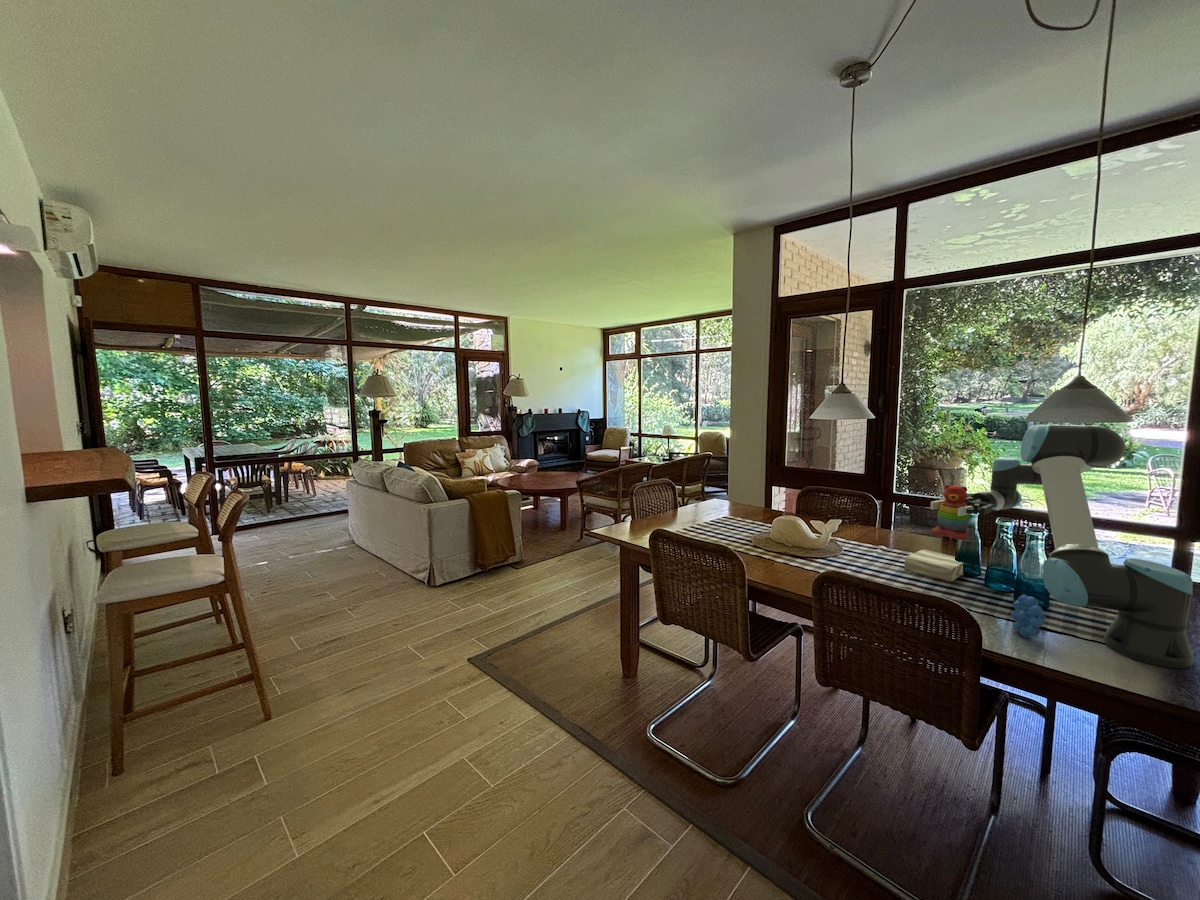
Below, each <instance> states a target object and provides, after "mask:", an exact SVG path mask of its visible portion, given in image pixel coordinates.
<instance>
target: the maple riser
mask: <svg viewBox="0 0 1200 900" xmlns="http://www.w3.org/2000/svg"><path fill="white" fill-rule="evenodd" d="M955 557H956V556H953V555H949V554H945V553H940V552H936V551H932V550H929V549H924V548H923V549H921V550H918V551H916V552H913V553H912V554H910V555H907V556H905V558H904V570H907V571H910V572H914V573H917V574H922V575H924V576H928V577H932V578H936V579H939V580H942V579H943V581H946V580H947V582H949V581H951V582H953V581H955V580H956V579H958V578H960V577H961V576H964V574H963V564H964V563H962V562H958V561H956V560H955Z"/></svg>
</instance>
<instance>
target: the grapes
mask: <svg viewBox="0 0 1200 900" xmlns="http://www.w3.org/2000/svg"><path fill="white" fill-rule="evenodd" d="M1011 605H1012V607H1013V608H1014V609H1015V610H1013V611H1012V612H1011V613H1010V617H1011V618H1012V619H1013V620H1014V621H1015V622H1014V623H1013V627H1014V628H1015V629H1016V630H1017V631H1018V633H1020V635H1021V636H1022V637H1024V638H1030V637H1036V636H1038V635H1039V634H1040V633H1041V630H1040V629H1039V628H1042V627H1043V626H1044V624H1045V620H1046V619H1047V618H1046V616H1045V614H1044V612H1045V611H1044V610H1043V609H1044V608H1042V607H1041V606H1040V605H1039V601H1038V599H1037V598H1036V597H1034V596H1031V595H1030V596H1029V595H1027V594H1022V595H1020V596H1019V597H1018V598H1017V600H1015V601H1014V602H1013V603H1012V604H1011Z"/></svg>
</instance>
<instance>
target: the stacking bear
mask: <svg viewBox="0 0 1200 900" xmlns="http://www.w3.org/2000/svg"><path fill="white" fill-rule="evenodd" d="M967 491H968V488H967V487H966V486H959V485H949V484H945V485H944V492H943V496H944V497H943V498H945V499H946V500H945V501H943V502H942V504H941V505H940V508H939V509H938V511H937V515H936V516H937V522H938V526H935V527H934V528H932V530H931V535H935V536H940V537H947V538H952V539H955V540H957V541H967V540H969V539H970V534H969V532H968V531H967V529H968V527H969V524H970V520H971V514H968V515H963V516H957V515H958V508H960V507H966V506H967V504H966V503H965V502H964V501H965V500H966V498H968V492H967Z"/></svg>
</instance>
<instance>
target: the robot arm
mask: <svg viewBox="0 0 1200 900" xmlns="http://www.w3.org/2000/svg"><path fill="white" fill-rule="evenodd" d="M1125 453H1126V444H1125V441H1124V439H1123V437H1121V435H1120V434H1119V433H1118V432H1116V431H1115V430H1112V429H1111V428H1108V427H1105V426H1101V425H1096V424H1093V425H1092V424H1087V425H1085V424H1082V425H1081V424H1050V423H1047V424H1034V425H1032V426H1030V427H1029V428H1027V430H1026V431H1025V433H1024V435H1023V438H1022V440H1021V445H1020V459H1021V460H1022V462H1025V463H1020V460H1019V458H1015V457H1008V456H1007V457H1005V456H1002V457H1001V456H1000V457H999V456H998V457H995V458H994V460H993V462H992V469H991V471H992V472H991V479H990V480H991V481H990V483H991V484H990V489H989V490H985V491H979V492H975V493H972V494H971V495H970V497H968V496H967V498H966V500H965V501H964V502H965V503H966V504H967V506H966V507H960V508H958V515H957V516H963V515H968V514H970V515H972V514H974V515H977V514H979V515H980V516H986V515H988V514H990V513H995V512H997V511H1002V510H1010V509H1012V508H1016V507H1018V506H1019V505H1020V504H1021V502H1022V496H1021V493H1020V492H1019V491H1018V490H1017V489H1018V485H1030V486H1031V485H1035V486H1036V485H1037V486H1042V489H1043V493H1044V499H1045V503H1046V509H1047V513H1048V514H1047V515H1048V520H1049V523H1050V525H1049V526H1050V529H1051V533H1052V534H1051V535H1052V539H1053V544H1054V545H1053V546H1054V550H1053V551H1052V552H1050V553H1049V558H1047V559H1045V560H1044V561H1043V563H1042V568H1041V569H1042V573H1041V574H1042V580H1043V583H1044V586H1045V588H1046V591H1048V593H1049V594H1050V596H1051V597H1052V598H1053V599H1054V600H1056V601H1058V602H1059V603H1061V604H1067V605H1072V606H1073V605H1074V606H1076V607H1081V608H1083V607H1085V608H1096V609H1105V610H1110V611H1111V610H1112V611H1117V615H1116V617H1115V618H1114V620H1113V621H1112V622H1111V624H1110V625H1109V627H1108V628H1107V629H1106V631H1105V633H1104V640H1103V642H1104V644H1105V645H1106V646H1107V647H1108V648H1110V649H1111V650H1113V651H1115V652H1116V653H1118V654H1120V655H1122V656H1125V657H1128V658H1131V659H1132V660H1136V661H1139V662H1143V663H1146V664H1149V665H1153V666H1158V667H1162V668H1163V667H1164V668H1170V669H1187V668H1190V667H1192V666H1193V661H1194V656H1193V651H1192V648H1191V646H1190V642H1189V639H1188V636H1187V623H1188V618H1189V613H1190V612H1189V611H1190V607H1191V602H1192V596H1193V594H1194V592H1193V583H1194V582H1193V578H1192V577H1191V576H1190V575H1189V574H1187V573H1186V572H1184V571H1182V570H1180V569H1176V568H1174V567H1172V566H1168V565H1164V564H1161V563H1158V562H1154V561H1150V560H1146V559H1139V558H1138V559H1137V558H1125V560H1124V561H1123V562H1122V564H1113V563H1111V560H1110V556H1109V554H1108V553H1107V552H1105V551H1104V550H1102V549H1100V548H1099V545H1098V544H1099V543H1098V539H1097V536H1096V531H1095V528H1094V524H1093V523H1094V522H1093V519H1092V515H1091V512H1090V511H1091V510H1090V507H1089V503H1088V498H1087V494H1086V490H1085V486H1084V482H1083V478H1082V477H1083V476H1082V474H1083V473H1085V472H1087V471H1090V470H1092V469H1095V468H1098V469H1099V468H1106V467H1109V466H1111V465H1113V464H1115V463H1117V462H1119V461H1121V460H1122V458H1123V456H1124V455H1125ZM945 500H946V499H945V497H937V498H936V500H934V501H930V506H929V509H930V510H937V509H938V510H939V508H940V505H941V504H942V502H943V501H945Z"/></svg>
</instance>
